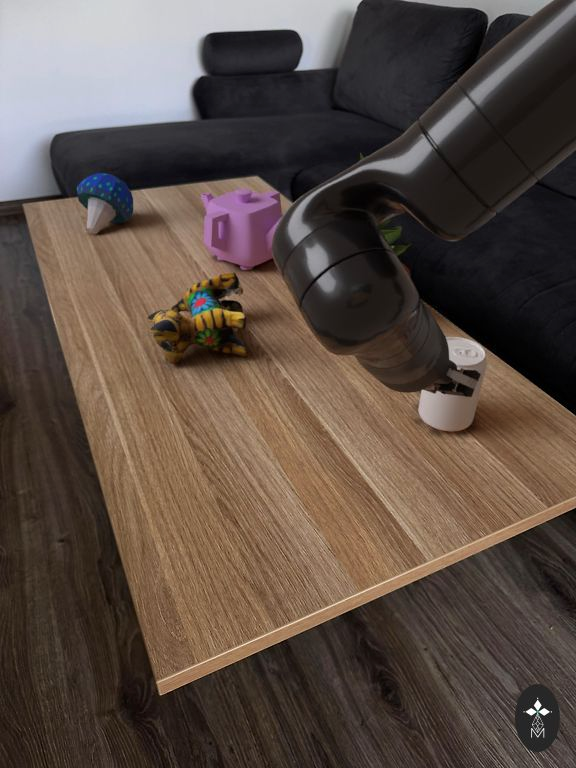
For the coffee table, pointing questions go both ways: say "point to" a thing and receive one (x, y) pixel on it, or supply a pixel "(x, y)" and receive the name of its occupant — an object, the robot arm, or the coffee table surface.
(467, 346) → the beverage can
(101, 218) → the mushroom
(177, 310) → the striped cat figurine
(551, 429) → the coffee table surface
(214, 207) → the teapot
